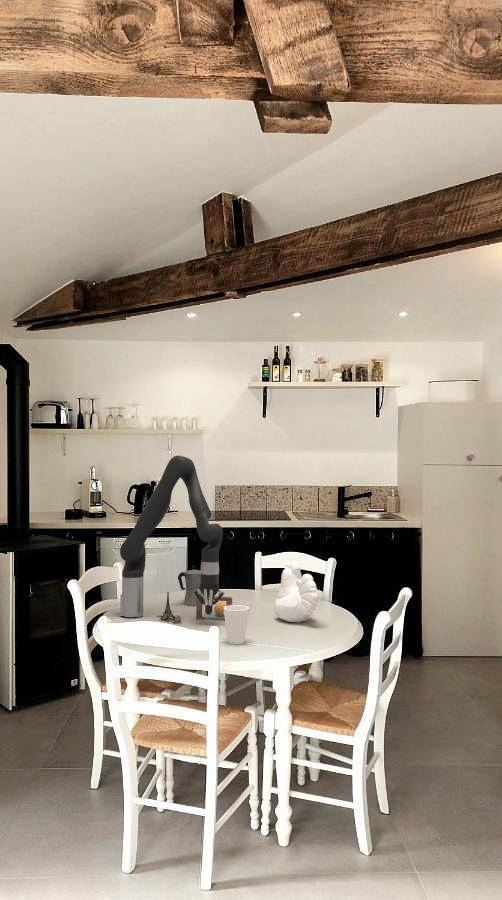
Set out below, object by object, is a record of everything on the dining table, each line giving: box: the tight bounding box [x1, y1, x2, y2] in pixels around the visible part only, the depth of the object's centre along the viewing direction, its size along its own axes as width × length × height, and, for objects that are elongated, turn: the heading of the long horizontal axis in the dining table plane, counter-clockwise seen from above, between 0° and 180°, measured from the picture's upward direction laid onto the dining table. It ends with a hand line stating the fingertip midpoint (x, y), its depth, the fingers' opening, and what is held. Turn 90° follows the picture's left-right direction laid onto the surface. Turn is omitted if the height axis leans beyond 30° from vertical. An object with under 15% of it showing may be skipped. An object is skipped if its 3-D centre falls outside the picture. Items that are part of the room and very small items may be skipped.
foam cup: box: [224, 604, 250, 646], centre depth 271 cm, size 10×9×13 cm
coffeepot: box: [177, 565, 204, 607], centre depth 335 cm, size 15×9×18 cm, turn 129°
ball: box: [213, 601, 226, 616], centre depth 313 cm, size 6×6×6 cm
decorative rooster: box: [273, 560, 319, 623], centre depth 303 cm, size 25×16×25 cm, turn 16°
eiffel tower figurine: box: [156, 591, 183, 624], centre depth 305 cm, size 15×10×13 cm
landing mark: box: [202, 610, 225, 620], centre depth 314 cm, size 12×12×1 cm
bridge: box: [195, 595, 233, 621], centre depth 306 cm, size 3×15×10 cm, turn 82°
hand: (208, 614), depth 297 cm, fingers closed
